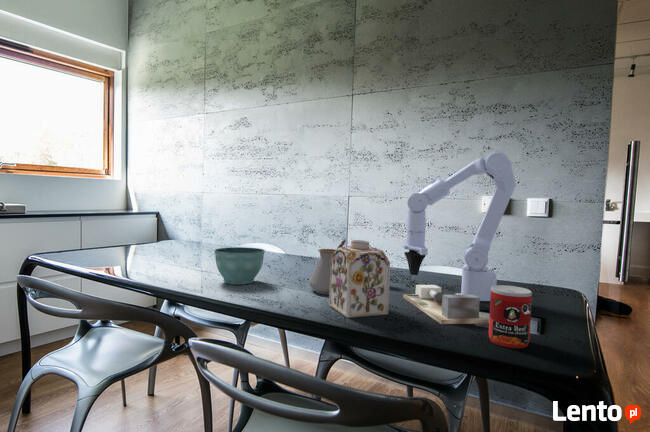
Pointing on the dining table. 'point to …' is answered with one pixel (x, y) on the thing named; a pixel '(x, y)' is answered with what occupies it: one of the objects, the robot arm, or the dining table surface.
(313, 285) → the coffee pot
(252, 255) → the flower pot
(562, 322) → the dining table surface
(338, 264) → the decorative jar
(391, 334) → the dining table surface
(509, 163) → the robot arm
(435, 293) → the gauge carriage
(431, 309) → the bench
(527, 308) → the canned food
